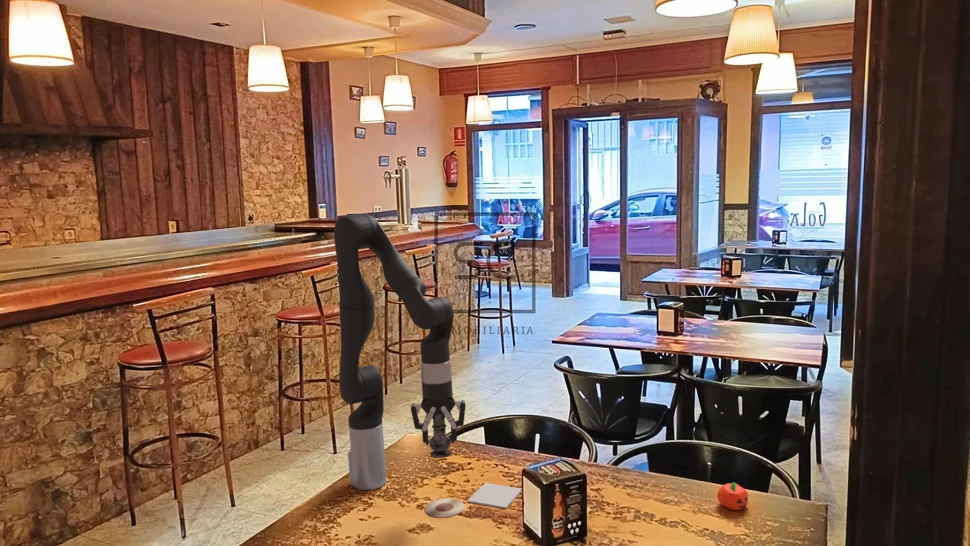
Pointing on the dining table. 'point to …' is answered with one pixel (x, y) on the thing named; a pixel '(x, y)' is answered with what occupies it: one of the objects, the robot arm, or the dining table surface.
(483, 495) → the mat
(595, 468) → the dining table surface
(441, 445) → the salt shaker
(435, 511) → the coaster
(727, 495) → the halloween pumpkin figurine
